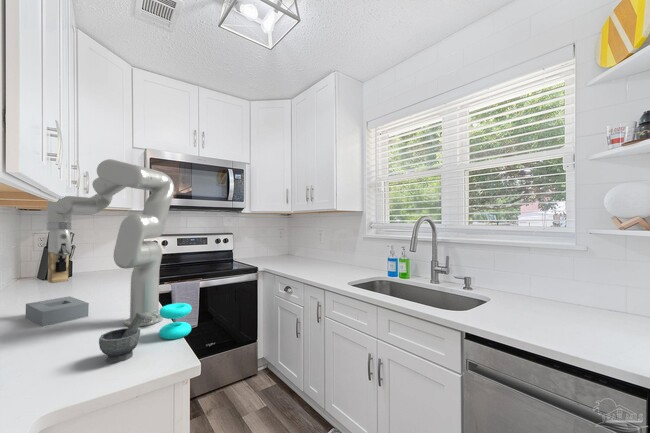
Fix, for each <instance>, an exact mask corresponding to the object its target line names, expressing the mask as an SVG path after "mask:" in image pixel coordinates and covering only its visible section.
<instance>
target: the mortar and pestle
mask: <svg viewBox="0 0 650 433" xmlns="http://www.w3.org/2000/svg"><path fill="white" fill-rule="evenodd" d="M145 317H146V315H145V314H143V313H136V317H135V318H134V320H133V321H132V323H131V324H130V326H127V327H125V328H124V327H122V328H120V329H119V328H118V329H114V330H109V331H107V332H105V333H103V334H101V335H100V337H99V338H98V345H99V350H100V351H101V353H102V354H104V355H106V356H107V357H106V362H107V363H109V364H115V363H117V364H119V363H121V362H125V361H127V360H130V359H131V358H133V355H134V354H133V351H134V350H135V348H136V347H137V346H138V344H139V341H140V337H141V329H140V327H141V326H140V324H141V322H142V320H143V319H144V318H145Z"/></svg>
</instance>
